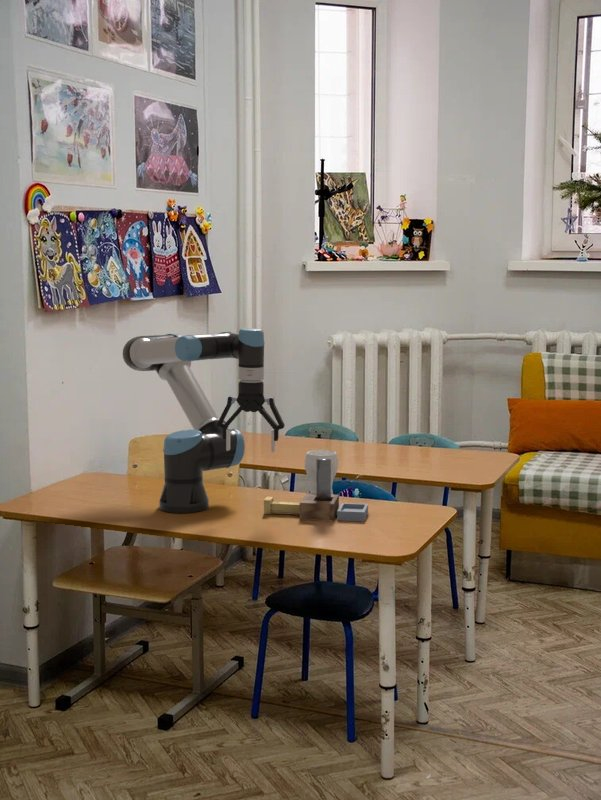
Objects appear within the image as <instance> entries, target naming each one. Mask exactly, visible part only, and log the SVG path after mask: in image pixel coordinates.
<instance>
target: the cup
mask: <svg viewBox="0 0 601 800" xmlns="http://www.w3.org/2000/svg"><path fill="white" fill-rule="evenodd" d="M317 458H330V459H331V494H334V492H333V483H334V479H335V477H336V475H337V472H338V468H339V459H338V453H337V452H336V451H334V450H328V449H317V450H316V449H314V450H309V451H307V452H306V454H305V458H304V469H305V472H306V474H307V477H308V479H309V483H310V485H309V486H310V490H309V493H310V494H316V459H317Z"/></svg>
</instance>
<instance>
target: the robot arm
mask: <svg viewBox="0 0 601 800" xmlns="http://www.w3.org/2000/svg"><path fill="white" fill-rule="evenodd" d="M264 334H265V333H264V330H262V329H260V328H241V329H239V330H238V333H235V332H231V331H221V332H218V333H208V334H188V335H187V334H186V335H181V334H176V333H175V334H173V333H166V334H161V335H160V334H159V335H157V334H156V335H155V334H154V335H139V336H135V337H133V338H130V339H129V340H128V341H127V342H126V343H125V345H124V346H123V349H122V358H123V361H124V363H125V364H126V365H127V366H128V367H129V368H130V369H132V370H134V371H138V372H152V371H155V372H156V373H157V375H158V377H159V378H160V379H161V380H162V381H166V382H167V383H168V385H169V387H170V388H171V391H172V393H173V394H174V396H175V398H176V400H177V401H178V403H179V405H180V407H181V409H182V411H183V412H184V414H185V416H186V418H187V420H188V422H189V423H190V425H191V427H192V429H186V430H185V429H182V430H178V431H174V432H171V433H169V434H168V435H166V436H165V438H164V440H163V450H162V451H163V465H164V467H163V471H164V473H163V474H164V485H163V488H162V491H161V494H160V497H159V502H158V503H159V504H158V506H159V509H160V510H161V511H163V512H167V513H173V514H189V513H197V512H202V511H205V510H208V509H209V506H210V505H209V504H210V503H209V501H210V500H209V497H208V494H207V491H206V488H205V485H204V482H203V481H204V479H203V476H204V475H203V473H204V472H208V471H214V470H219V469H225V468H226V469H229V468H231V467H235V466H238V465H240V464H241V462H242V460H243V458H244V455H245V451H246V450H245V447H246V445H245V444H246V443H245V439H244V436H243V433H242V432H241V431H240V430H238V429H235V428H231V427H230V425H231V424H232V422H234V420H235V419H236V418H237V417H238V416H239V414H240V413H242V411H244V412H245V413H249V412H251V413H256V412H258V413H259V414H260V415H261V416H262V417H263V418H264V419H265V421H266V422H267V423H268V425H269V426H270V427H271V428H272V429H271V433H270V434H271V435H270V437H271V438H270V440H271V441H270V445H271V447H270V452H271V453H275V451H276V448H275V447H276V442H278V440H279V436H280V435H279V433H280V432H279V430H281V429H284V428H285V426H286V425H285V422H284V421H283V418H282V416H281V415H280V413H279V410H278V408H277V406H276V404H275V397H274V396H271V397H265V395H264V393H265V391H264V389H265V388H264V387H265V386H264V381H263V380H264V379H265V378H264V377H265V372H264V371H265V366H264V365H265V364H264V363H265V336H264ZM218 359H219V360H221V359H237V360H238V379H237V380H239V381H238V384H237V385H238V386H237V387H238V390H237V391H238V392H237V393H238V395H237V396H233V395H229V396H228V397H227V402H226V406H225V407H224V409H223V411H222V413H221V415H220V417H218V415H217V414H216V411H215V410H214V409H213V406H212V405H211V403H210V400H209V399H208V398H207V396H206V394H205V392H204V391H203V389H202V388H201V385H200V384H199V382H198V380H197V378H196V377H195V375H194V373H193V372H192V371H193V370H191V366H192V362H194V361H205V360H218ZM236 402H237V404H238V405H239V407H237V409H236V410H235V411H234V413H233V414H232V415H231V416H230V417H229V418H228V420H227V421H226V420H225V419H226V417H227V415H228V413H229V411H230V409H231V407H232V405H233V404H235V403H236ZM265 403H266V404H267V405H268V406H269V408H270V410H271V412H272V414H273V416H274V418H275V420H276V422H275V420H274V419H273V418H272V417H271V416H270V414H269V413H268V411H267V410H266V409H265V407H264V404H265Z"/></svg>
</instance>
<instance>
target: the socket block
mask: <svg viewBox="0 0 601 800" xmlns="http://www.w3.org/2000/svg"><path fill="white" fill-rule="evenodd" d="M299 503H300V515H299V520H304V521H305V520H307V521H309V520H310V521H328V522H329V521H330V522H331V521H332V522H334V521H335V519H336V516H337V511H338V509H339V507H340V494H334V493H333V494H331V501H316V494H310V492H308V493H305V495H304V496H303V497H302V499H301V500H300V501H299Z"/></svg>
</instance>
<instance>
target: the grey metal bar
mask: <svg viewBox="0 0 601 800" xmlns="http://www.w3.org/2000/svg"><path fill="white" fill-rule="evenodd" d="M316 501H331V459H330V458H317V459H316Z"/></svg>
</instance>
